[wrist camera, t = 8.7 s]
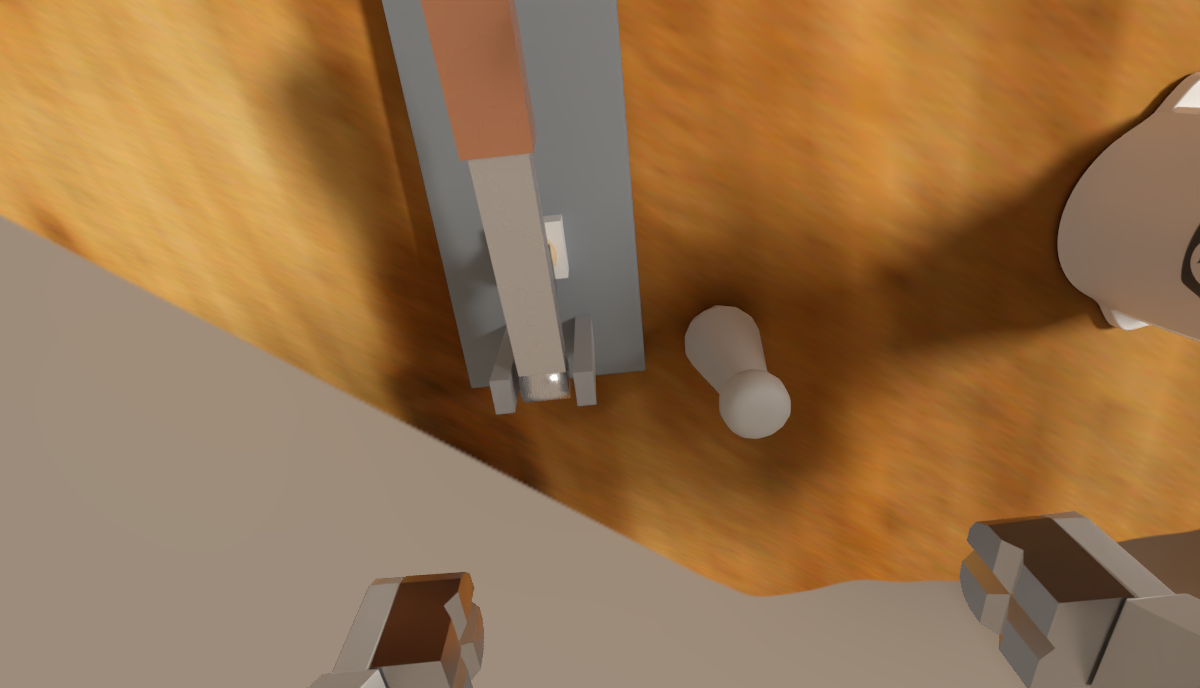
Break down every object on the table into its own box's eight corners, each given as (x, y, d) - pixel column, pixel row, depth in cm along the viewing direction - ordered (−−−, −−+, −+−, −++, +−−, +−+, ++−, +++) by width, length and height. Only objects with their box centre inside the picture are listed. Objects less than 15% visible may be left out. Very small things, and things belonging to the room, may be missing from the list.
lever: (575, 373, 40) (575, 407, 37) (524, 378, 40) (520, 412, 37) (503, -79, 25) (494, -80, 22) (421, -69, 25) (402, -69, 22)
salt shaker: (750, 357, 47) (805, 451, 35) (681, 365, 47) (713, 460, 36) (751, 291, 45) (810, 368, 33) (678, 299, 45) (711, 379, 33)
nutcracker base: (643, 359, 47) (658, 435, 37) (475, 376, 47) (446, 456, 37) (611, -45, 35) (621, -91, 25) (387, -18, 35) (309, -54, 25)
